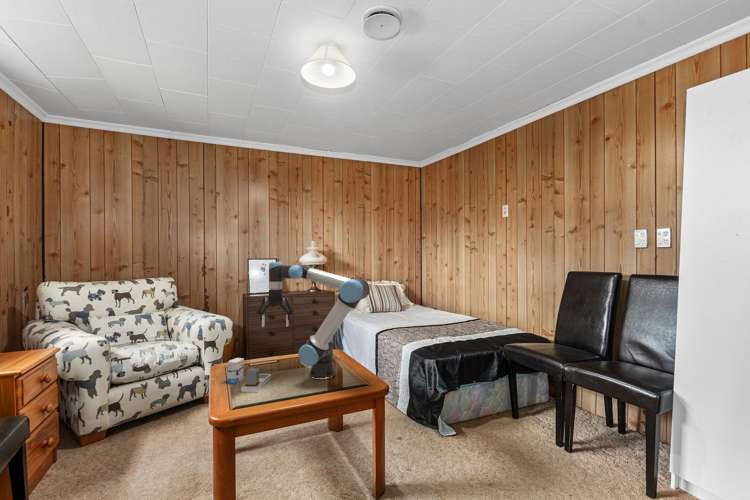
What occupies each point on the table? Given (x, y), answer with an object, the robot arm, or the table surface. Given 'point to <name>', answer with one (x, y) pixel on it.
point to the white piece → (262, 381)
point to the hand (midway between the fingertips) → (275, 326)
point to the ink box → (235, 370)
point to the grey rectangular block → (252, 377)
